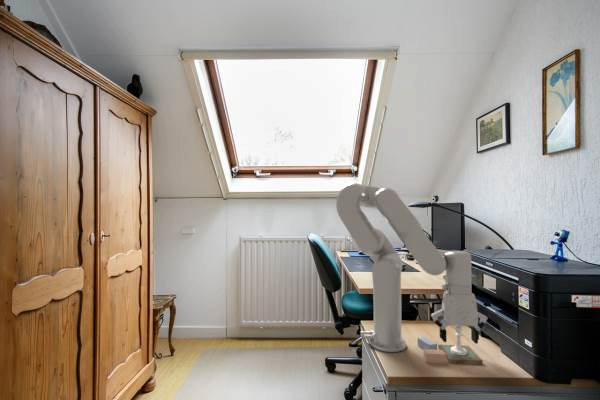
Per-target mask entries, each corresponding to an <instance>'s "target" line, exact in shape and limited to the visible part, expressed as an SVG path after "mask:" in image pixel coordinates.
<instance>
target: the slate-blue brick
mask: <svg viewBox="0 0 600 400" xmlns="http://www.w3.org/2000/svg"><path fill="white" fill-rule="evenodd" d="M417 347H419V348H420V349H421V350H423V349H433V350H438V343H436V342H434V341H433V340H431V339H429V338H428V337H427V336H420V337H417Z"/></svg>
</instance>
